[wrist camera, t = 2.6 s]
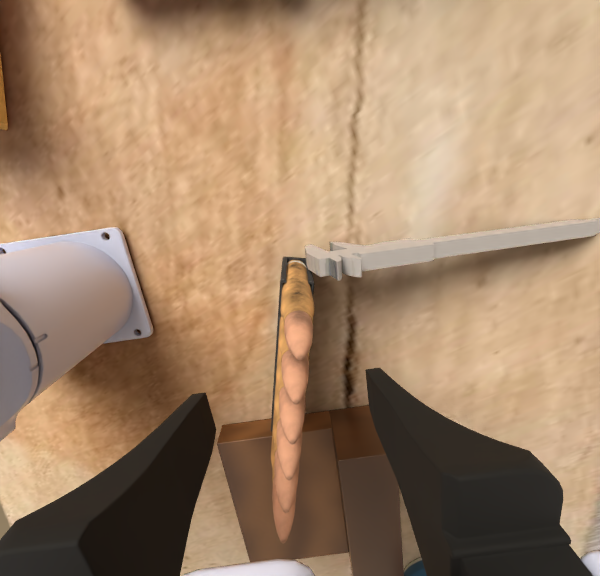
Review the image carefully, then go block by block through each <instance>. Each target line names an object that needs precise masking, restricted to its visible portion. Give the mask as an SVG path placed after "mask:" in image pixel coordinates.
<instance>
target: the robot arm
mask: <svg viewBox="0 0 600 576" xmlns="http://www.w3.org/2000/svg"><path fill="white" fill-rule="evenodd" d="M105 233H108V234H109V236H110V238H109V239H107V238H106V237H105ZM3 249H4V250H5V251H6V254H5V253H4V252H3ZM137 329H139V330H140V331H141V333H138V332H137ZM152 333H153V326H152V323H151V320H150V317H149V314H148V310H147V307H146V304H145V301H144V298H143V295H142V291H141V288H140V285H139V282H138V279H137V276H136V272H135V269H134V266H133V263H132V260H131V256H130V253H129V250H128V247H127V244H126V241H125V237H124V234H123V232H122V230H120V229H119V228H117V227H111V228H104V229H97V230H91V231H84V232H77V233H70V234H64V235H57V236H50V237H43V238H37V239H30V240H23V241H16V242H10V243H3V244H0V441H1V440H3V439H4V438H5V437H6V436H7V435H8V434H9V433H11V432H12V431H13V430H14V429H15V427H16V426H15V421H16V417H17V415H18V413H19V412H20V411H21V410H22V409H23V408H24V407H25V406H26V405H27V404H28V403H30V402H31V401H32V400H33V399H35V398H36V397H37V396H38V395H40V394H41V393H42V392H43V391H44V390H46V389H47V388H48V387H49V386H51V385H52V384H53V383H54V382H56V381H57V380H58V379H59V378H61V377H62V376H63V375H64V374H66V373H67V372H68V371H69V370H70V369H72V368H73V367H74V366H75V365H77V364H78V363H79V362H80V361H82V360H83V359H84V358H85V357H87V356H88V355H89V354H90V353H92V352H93V351H94V350H95V349H96V348H98V347H99V346H100V345H101V344H104V343H111V342H118V341H125V340H132V339H139V338H146V337H149V336H150V335H151V334H152ZM366 379H367V390H368V400H369V409H370V412H371V416H372V419H373V423H374V426H375V429H376V432H377V434H378V437H379V439H380V441H381V444H382V446H383V449H384V451H385V453H386V456H387V458H388V460H389V463H390V465H391V467H392V470H393V472H394V474H395V477H396V479H397V482H398V485H399V487H400V490H401V493H402V496H403V499H404V503H405V506H406V509H407V512H408V515H409V518H410V522H411V525H412V528H413V531H414V535H415V538H416V541H417V544H418V548H419V551H420V554H421V558H422V561H423V565H424V568H425V571H426V575H427V576H600V550H596V551H591V552H588V553H586V554H584V555H583V556H582V557H581V559H580V558H579V557H578V556H577V554H576V553H575V552H574V551H573V549H572V548H571V547H570V546H569V544H571V540H570V537H569V536H568V534H567V533H566V532H565V531H564V529H563V528H562V527H561V526H560V524H559V523H560V516H561V510H562V503H563V489H562V487H561V485H560V483H559V481H558V480H557V479H556V478H555V477H554V476H553V475H552V474H551V473H550V471H549V470H548V469H547V468H546V467H545V466H544V465H543V464H542V463H541V462H540V461H539V460H538V459H537V458H536V457H535V456H534V455H533V454H532V453H531V452H530V451H528V450H525V449H522V448H519V447H516V446H512V445H509V444H506V443H503V442H500V441H497V440H495V439H492V438H489V437H487V436H484V435H482V434H479V433H477V432H475V431H472V430H470V429H468V428H466V427H464V426H462V425H460V424H458V423H456V422H454V421H452V420H450V419H448V418H446V417H444V416H443V415H441V414H439V413H437V412H436V411H434V410H432V409H431V408H429V407H428V406H426V405H425V404H423V403H422V402H420V401H419V400H418V399H416V398H415V397H414V396H412V395H411V394H410V393H408V392H407V391H406V390H405V389H403V388H402V387H401V386H400V385H399V384H397V383H396V382H395V381H394V380H393V379H392V378H391V377H389V376H388V375H387V374H386V373H385V372H384V371H383V370H382V369H380V368H374V369H367V370H366ZM215 434H216V427H215V423H214V420H213V416H212V413H211V409H210V406H209V402H208V399H207V395H206V393H199V394H192V395H191V396H190V397H189V398H188V399H187V400H186V401H185V402H183V403H182V404H181V405H180V406H179V407H178V408H177V409H176V410H175V411H174V412H173V413H172V414H171V415H170V416H169V417H168V418H167V419H166V420H165V421H164V422H163V423H162V424H161V425H160V426H159V427H158V428H156V429H155V430H154V431H153V432H152V433H151V434H150V435H149V436H147V437H146V438H145V439H144V440H143V441H142V442H141V443H140V444H138V445H137V446H136V447H135V448H134V449H132V450H131V451H130V452H129V453H127V454H126V455H125V456H123V457H122V458H121V459H119V460H118V461H117V462H115V463H114V464H113V465H111V466H110V467H108V468H107V469H105V470H104V471H102V472H101V473H99V474H98V475H97V476H95V477H94V478H92V479H91V480H89V481H88V482H86V483H84V484H83V485H81V486H79V487H78V488H76V489H75V490H73V491H71V492H69V493H68V494H66V495H64V496H63V497H61V498H59V499H57V500H55V501H54V502H52V503H50V504H48V505H46V506H44V507H42V508H40V509H38V510H36V511H35V512H33V513H31V514H29V515H27V516H25V517H23V518H21V519H19V520H17V521H16V522H15V523H14V524H13V525H12V526H11V528H10V529H9V530H8V531H7V533H6V534H5V535H4V536H3V537H2V538H1V540H0V576H180V572H181V567H182V562H183V557H184V552H185V547H186V542H187V537H188V533H189V528H190V524H191V519H192V515H193V511H194V508H195V504H196V501H197V498H198V495H199V492H200V489H201V486H202V483H203V480H204V476H205V473H206V470H207V467H208V464H209V461H210V457H211V454H212V450H213V445H214V440H215ZM182 576H315V575H314V574H313V572H312V570H311V569H310V568H309V567H308V566H306V565H304V564H302V563H300V562H298V561H296V560H288V559H273V560H265V561H258V562H250V563H242V564H235V565H227V566H220V567H212V568H204V569H198V570H195V571H192V572H189V573H186V574H184V575H182Z"/></svg>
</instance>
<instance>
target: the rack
mask: <svg viewBox="0 0 600 576" xmlns="http://www.w3.org/2000/svg"><path fill="white" fill-rule="evenodd" d="M271 445H272V432H271V419H265V420H257V421H250V422H243V423H235V424H228V425H222V428H221V432H220V435H219V439H218V442H217V446H218V449H219V453H220V456H221V460H222V463H223V467H224V471H225V474H226V478H227V481H228V485H229V488H230V492H231V495H232V499H233V503H234V506H235V510H236V513H237V517H238V520H239V524H240V528H241V531H242V535H243V538H244V542H245V545H246V549H247V552H248V556H249V560H250V562H258V561H265V560H273V559H288V560H293V559H301V558H309V557H316V556H324V555H332V554H340V553H347V552H349V556H350V562H351V568H352V574H353V576H404V572H403V554H402V537H401V520H400V502H399V485H398V482H397V479H396V477H395V474H394V472H393V470H392V467H391V465H390V463H389V460H388V458H387V456H386V453H385V451H384V449H383V446H382V444H381V441H380V439H379V437H378V434H377V432H376V429H375V426H374V423H373V419H372V416H371V412H370V409H369V405H367V406H360V407H353V408H345V409H338V410H331V411H323V412H316V413H308V414H305V416H304V423H303V427H302V445H301V454H300V459H299V474H298V484H297V489H296V503H295V512H294V518H293V523H292V527H291V531H290V534H289V536H288V539H287V541H286V542H285V543H281V541H280V539H279V537H278V534H277V531H276V526H275V521H274V515H273V501H272V492H273V482H272V471H273V469H272V463H271Z"/></svg>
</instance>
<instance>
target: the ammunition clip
mask: <svg viewBox="0 0 600 576" xmlns="http://www.w3.org/2000/svg"><path fill="white" fill-rule="evenodd" d="M313 290H314V280H313V275H312V271H310V270H308V267H307V263H306V258H294V257H283V262H282V271H281V281H280V296H279V311H278V326H277V342H276V357H275V373H274V388H273V403H272V419H271V432H272V445H271V463H272V469H273V471H272V482H273V492H272V501H273V515H274V521H275V526H276V531H277V534H278V537H279V539H280V541H281V543H285V542H286V541H287V539H288V536H289V534H290V531H291V527H292V523H293V518H294V512H295V503H296V489H297V484H298V474H299V459H300V454H301V445H302V427H303V423H304V416H305V405H306V404H305V395H306V389H307V385H308V378H309V351H310V348H311V345H312V339H313V315H314V303H313Z"/></svg>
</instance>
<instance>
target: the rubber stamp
mask: <svg viewBox="0 0 600 576" xmlns="http://www.w3.org/2000/svg"><path fill="white" fill-rule="evenodd" d="M7 127H8V123H7V113H6V103H5V93H4V83H3V73H2V63H1V54H0V129H2V130H7Z"/></svg>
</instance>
